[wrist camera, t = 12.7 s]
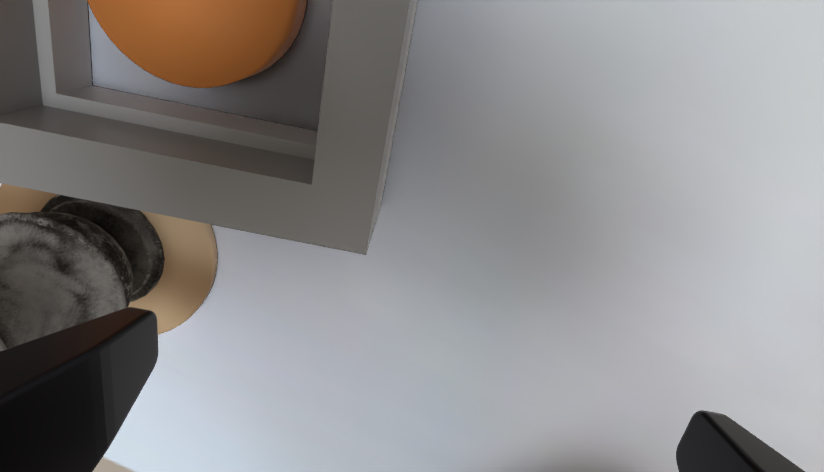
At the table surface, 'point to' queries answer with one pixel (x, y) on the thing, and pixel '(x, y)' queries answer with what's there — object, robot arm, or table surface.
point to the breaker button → (201, 36)
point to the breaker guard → (205, 131)
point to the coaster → (183, 251)
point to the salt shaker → (72, 265)
